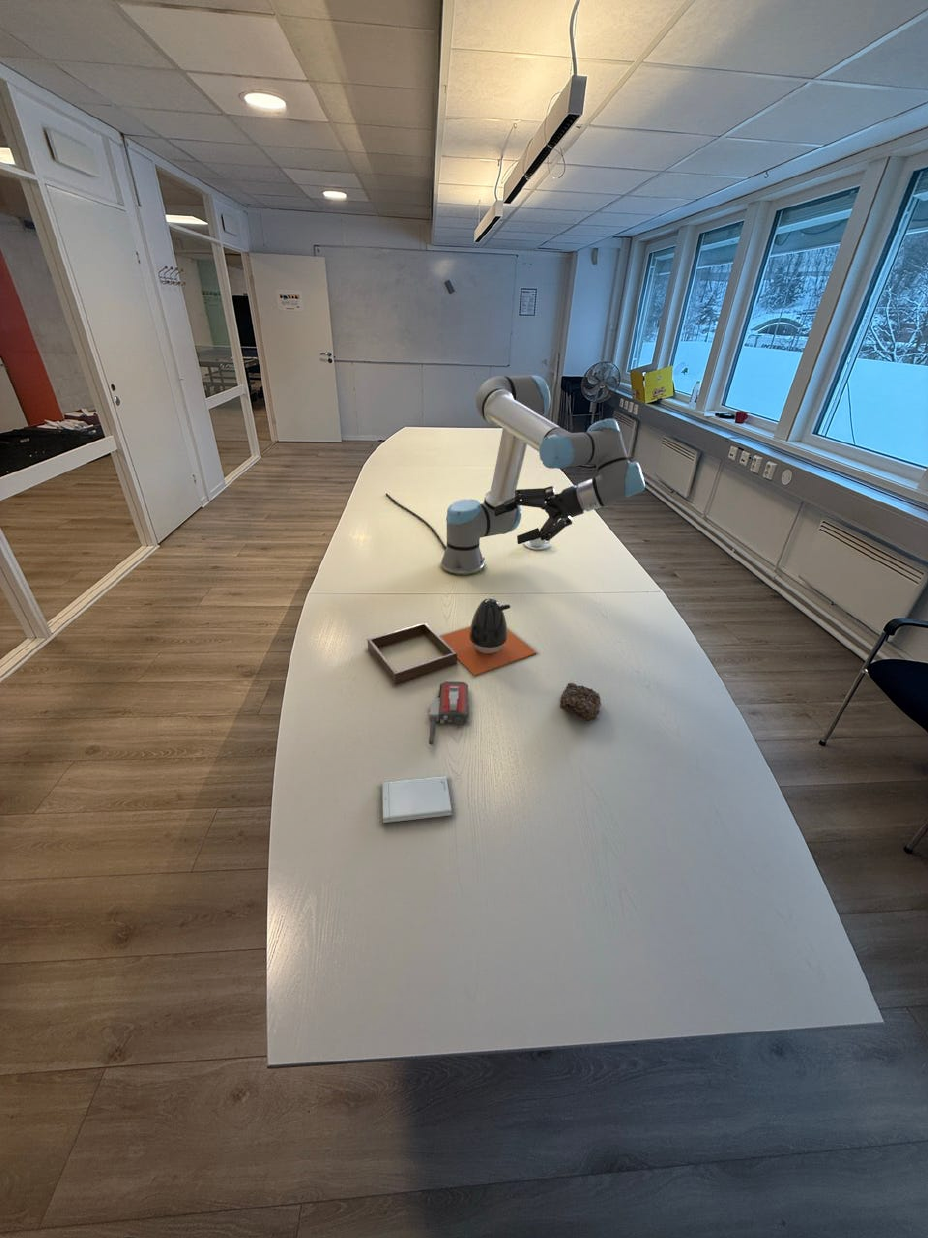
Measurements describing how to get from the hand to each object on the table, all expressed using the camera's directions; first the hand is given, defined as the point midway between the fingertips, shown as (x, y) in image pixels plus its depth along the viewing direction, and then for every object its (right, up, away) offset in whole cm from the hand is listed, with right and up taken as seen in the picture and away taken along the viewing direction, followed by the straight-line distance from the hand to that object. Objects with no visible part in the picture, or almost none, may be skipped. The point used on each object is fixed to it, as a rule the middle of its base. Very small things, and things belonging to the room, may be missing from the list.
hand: (506, 526), depth 137 cm
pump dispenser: (-5, -34, 0) cm, 34 cm away
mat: (-6, -33, +1) cm, 33 cm away
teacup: (+17, +4, +62) cm, 65 cm away
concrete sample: (+15, -47, -20) cm, 53 cm away
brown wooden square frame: (-26, -36, -4) cm, 44 cm away
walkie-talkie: (-15, -48, -23) cm, 55 cm away
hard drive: (-21, -60, -43) cm, 77 cm away
